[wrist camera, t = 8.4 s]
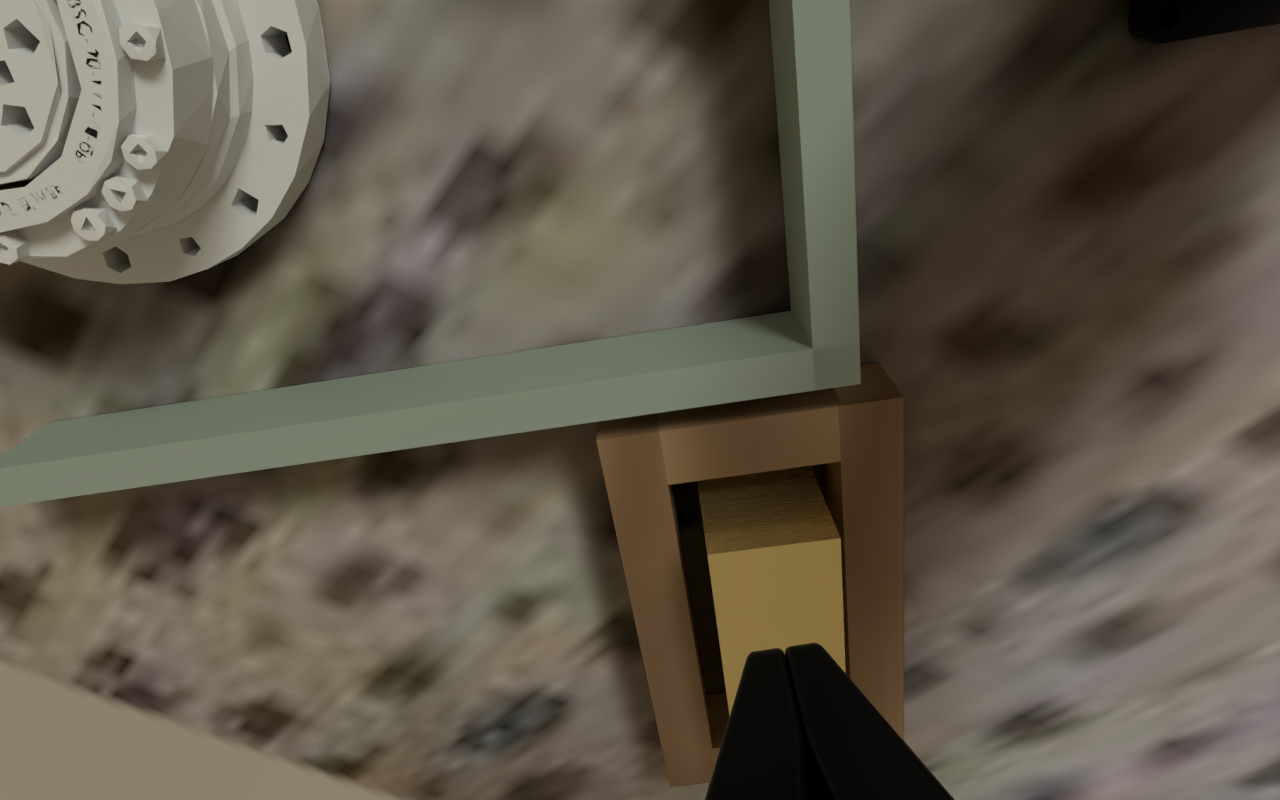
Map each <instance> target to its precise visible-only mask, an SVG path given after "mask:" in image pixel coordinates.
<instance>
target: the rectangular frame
mask: <svg viewBox="0 0 1280 800" xmlns="http://www.w3.org/2000/svg"><path fill="white" fill-rule="evenodd" d="M860 372H861V384H857V385H850V386H843V387H836V388H829V389H822V390H815V391H808V392H801V393H794V394H787V395H780V396H773V397H766V398H759V399H752V400H745V401H738V402H731V403H724V404H717V405H710V406H703V407H696V408H689V409H682V410H675V411H668V412H661V413H654V414H647V415H640V416H633V417H626V418H619V419H613V420H606V421H599V422H598V428H597V438H596V442H597V447H598V451H599V456H600V461H601V465H602V470H603V475H604V479H605V484H606V489H607V494H608V498H609V503H610V508H611V512H612V517H613V522H614V526H615V531H616V536H617V540H618V545H619V550H620V554H621V559H622V564H623V569H624V573H625V578H626V583H627V587H628V592H629V597H630V601H631V606H632V611H633V615H634V620H635V625H636V629H637V634H638V639H639V644H640V648H641V653H642V658H643V662H644V667H645V672H646V676H647V681H648V686H649V690H650V695H651V700H652V704H653V709H654V714H655V719H656V723H657V728H658V733H659V737H660V742H661V747H662V751H663V756H664V761H665V765H666V770H667V775H668V779H669V784H670V787H671V786H680V785H689V784H698V783H707V782H710V781H711V778H712V774H713V771H714V767H715V764H716V761H717V757H718V754H719V750H720V747H721V744H722V740H723V737H724V733H725V730H726V727H727V723H728V720H729V709H728V702H727V695H726V693H721V694H712V695H707V694H706V688H705V682H704V676H703V670H702V664H701V658H700V652H699V646H698V640H697V634H696V628H695V622H694V616H693V609H692V603H691V597H690V591H689V585H688V579H687V573H686V567H685V561H684V555H683V549H682V543H681V537H680V531H679V525H678V519H677V513H676V507H675V501H674V495H673V489H672V484H679V483H686V482H694V481H701V480H708V479H716V478H723V477H730V476H738V475H745V474H752V473H760V472H767V471H774V470H782V469H789V468H796V467H804V466H811V465H818V464H824V469H825V487H826V504H827V506H828V509H829V511H830V514H831V516H832V518H833V521H834V523H835V526H836V528H837V530H838V533H839V535H840V538H841V561H842V588H843V616H844V644H845V671H846V674H847V675H848V677H849V678H850V679H851V680H852V681H853V682H854V683H855V685H856V686H857V687H858V688H859V689H860V690H861V692H862V693H863V694H864V695H865V696H866V697H867V699H868V700H869V701H870V702H871V703H872V704H873V706H874V707H875V708H876V709H877V710H878V711H879V713H880V714H881V715H882V716H883V717H884V718H885V720H886V721H887V722H888V723H889V724H890V725H891V726H892V728H893V729H894V730H895V731H896V732H897V733H898V735H899V736H900V737H901V738H902V739H903V740H904V397H903V395H902V394H901V393H900V391H899V390H898V389H897V387H896V386H895V385H894V383H893V382H892V381H891V379H890V378H889V377H888V375H887V374H886V373H885V371H884V370H883V369H882V367H881V366H880V365H879V363H873V364H867V365H860Z"/></svg>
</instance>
